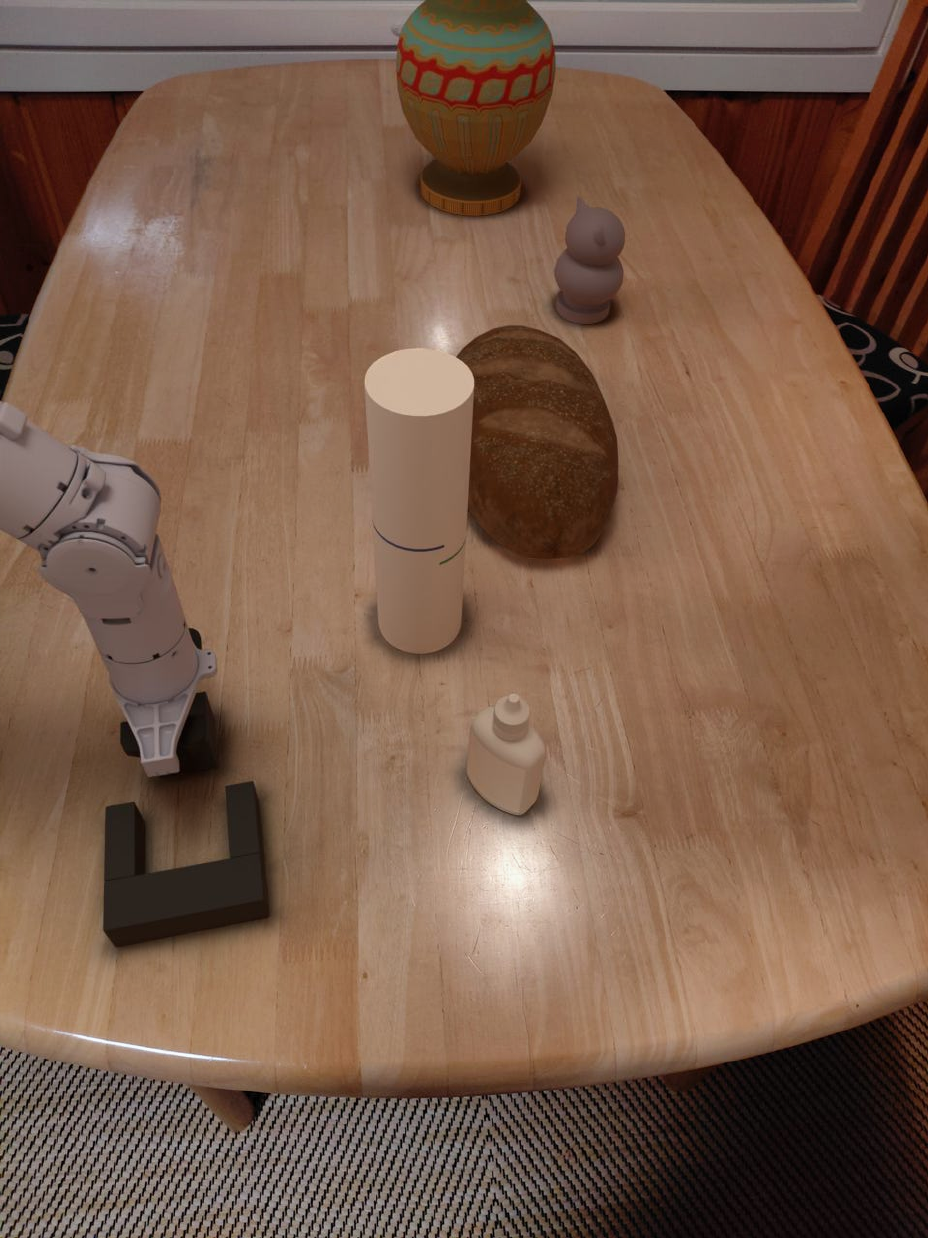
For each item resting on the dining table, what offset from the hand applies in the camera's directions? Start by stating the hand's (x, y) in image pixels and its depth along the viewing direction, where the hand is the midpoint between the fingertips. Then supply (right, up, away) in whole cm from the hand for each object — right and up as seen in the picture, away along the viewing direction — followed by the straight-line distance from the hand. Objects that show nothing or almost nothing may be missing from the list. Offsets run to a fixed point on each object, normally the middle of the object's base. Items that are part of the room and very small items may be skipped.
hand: (182, 739), depth 70 cm
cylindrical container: (+17, +9, +10) cm, 22 cm away
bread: (+27, +25, +23) cm, 43 cm away
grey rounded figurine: (+35, +46, +41) cm, 71 cm away
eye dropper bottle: (+24, -4, 0) cm, 24 cm away
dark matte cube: (0, -1, +1) cm, 1 cm away
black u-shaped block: (+2, -8, -5) cm, 10 cm away
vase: (+22, +68, +58) cm, 92 cm away
